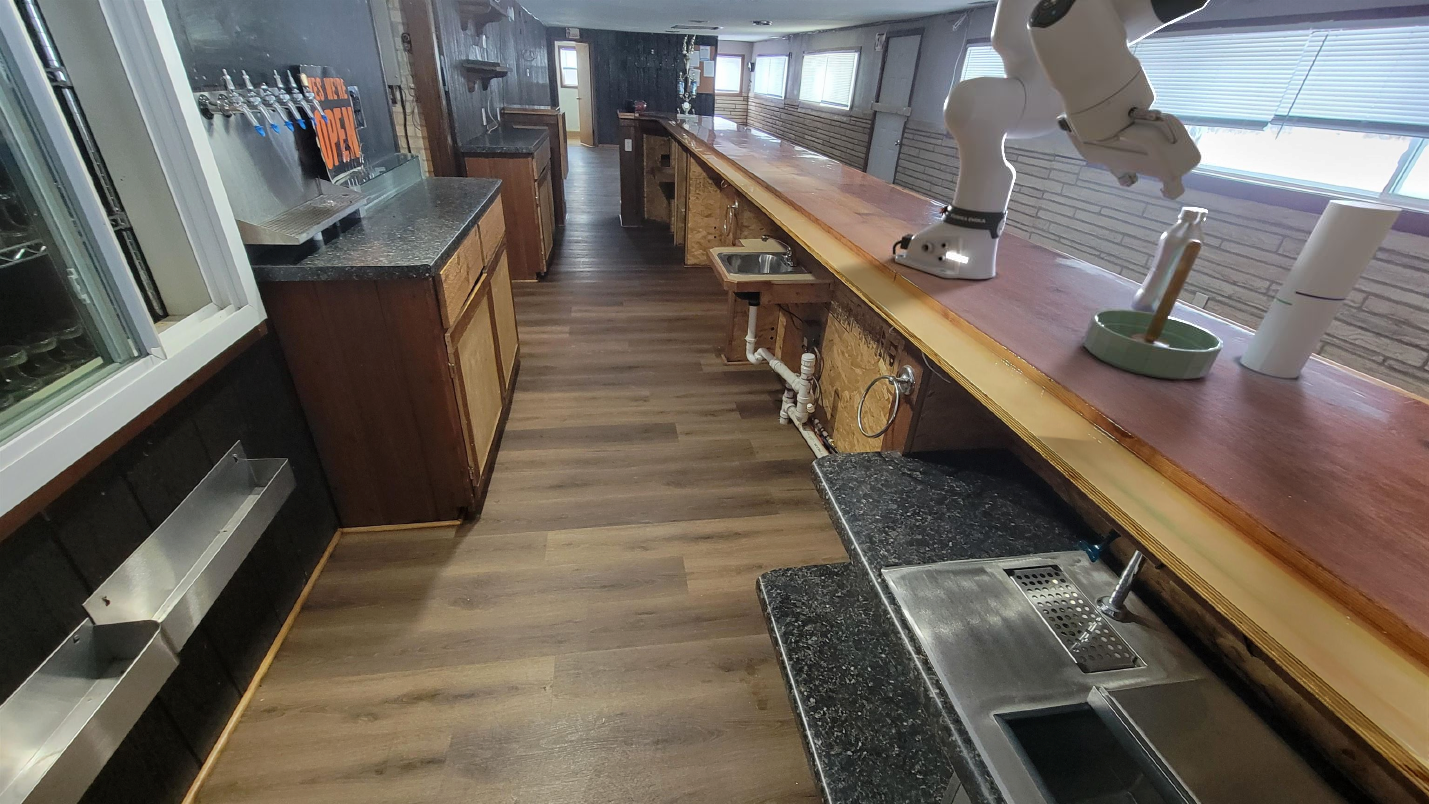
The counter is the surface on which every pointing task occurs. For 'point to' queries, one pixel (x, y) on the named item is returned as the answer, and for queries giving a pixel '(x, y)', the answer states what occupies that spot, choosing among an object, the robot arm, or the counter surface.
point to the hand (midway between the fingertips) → (1151, 189)
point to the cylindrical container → (1318, 285)
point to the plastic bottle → (1169, 258)
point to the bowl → (1151, 345)
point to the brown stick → (1170, 296)
